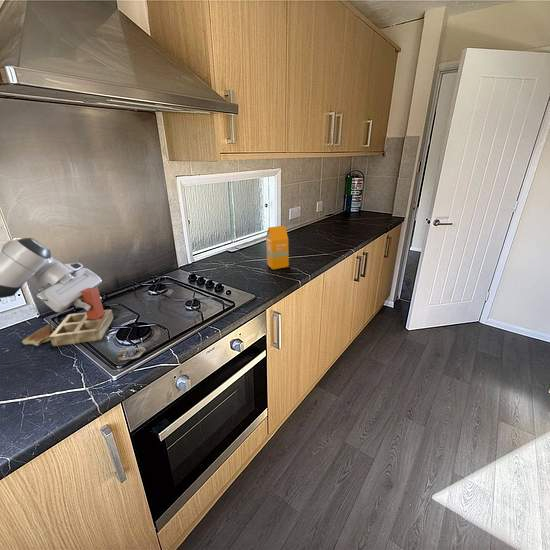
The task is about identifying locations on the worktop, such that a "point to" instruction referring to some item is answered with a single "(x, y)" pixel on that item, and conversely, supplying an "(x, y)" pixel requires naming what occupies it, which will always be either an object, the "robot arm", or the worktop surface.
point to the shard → (39, 335)
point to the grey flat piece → (130, 353)
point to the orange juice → (277, 247)
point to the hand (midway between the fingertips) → (95, 304)
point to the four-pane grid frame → (81, 328)
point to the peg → (93, 303)
